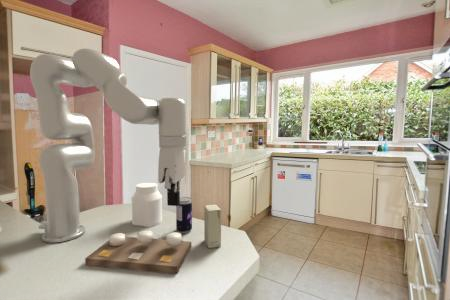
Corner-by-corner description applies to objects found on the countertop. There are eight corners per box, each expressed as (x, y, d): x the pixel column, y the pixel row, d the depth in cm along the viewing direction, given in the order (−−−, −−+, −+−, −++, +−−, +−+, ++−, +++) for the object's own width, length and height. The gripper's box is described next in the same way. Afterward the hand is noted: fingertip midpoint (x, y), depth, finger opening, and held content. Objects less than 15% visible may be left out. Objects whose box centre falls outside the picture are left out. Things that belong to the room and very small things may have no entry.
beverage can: (188, 234, 87) (188, 201, 86) (173, 233, 88) (173, 200, 87) (194, 228, 93) (194, 197, 92) (179, 226, 94) (179, 196, 93)
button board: (85, 265, 67) (85, 257, 67) (114, 241, 81) (114, 235, 81) (177, 273, 64) (177, 265, 64) (191, 247, 78) (191, 241, 78)
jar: (127, 224, 96) (126, 186, 94) (142, 215, 105) (142, 181, 103) (152, 228, 92) (152, 189, 91) (166, 219, 101) (166, 183, 100)
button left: (106, 245, 74) (106, 239, 73) (114, 238, 78) (114, 232, 78) (120, 246, 73) (120, 240, 73) (127, 239, 77) (127, 233, 77)
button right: (164, 244, 71) (164, 238, 71) (169, 238, 76) (169, 231, 75) (178, 246, 71) (178, 239, 70) (183, 239, 75) (183, 232, 75)
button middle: (134, 242, 72) (134, 236, 72) (141, 236, 77) (141, 229, 76) (148, 243, 72) (148, 237, 72) (155, 237, 76) (155, 230, 76)
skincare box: (221, 247, 79) (221, 210, 77) (208, 248, 77) (208, 211, 76) (216, 238, 85) (216, 203, 84) (203, 239, 84) (204, 204, 82)
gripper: (169, 140, 78) (170, 197, 80) (148, 143, 63) (150, 213, 65) (192, 140, 77) (192, 198, 79) (176, 144, 62) (177, 214, 64)
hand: (173, 204), depth 72 cm, fingers closed
